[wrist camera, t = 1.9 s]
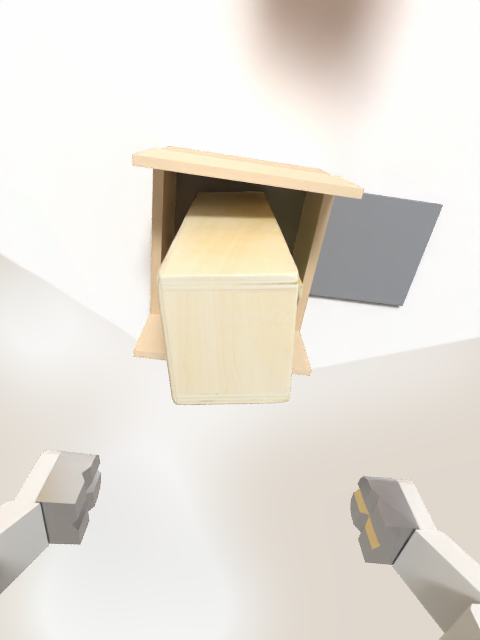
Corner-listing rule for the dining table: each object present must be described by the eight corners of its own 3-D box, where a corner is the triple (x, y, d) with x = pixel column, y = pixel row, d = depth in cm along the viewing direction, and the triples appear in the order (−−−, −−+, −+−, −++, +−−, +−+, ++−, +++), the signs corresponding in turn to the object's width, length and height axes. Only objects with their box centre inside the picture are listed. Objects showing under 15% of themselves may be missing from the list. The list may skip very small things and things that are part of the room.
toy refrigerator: (270, 269, 38) (301, 405, 20) (201, 269, 38) (168, 407, 20) (273, 191, 34) (315, 269, 16) (196, 191, 34) (149, 270, 16)
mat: (440, 204, 35) (442, 205, 34) (400, 304, 40) (402, 306, 40) (331, 188, 34) (332, 189, 34) (305, 292, 39) (306, 294, 39)
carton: (320, 166, 33) (364, 189, 22) (288, 304, 40) (309, 375, 29) (169, 143, 32) (132, 154, 21) (163, 288, 39) (133, 356, 28)
